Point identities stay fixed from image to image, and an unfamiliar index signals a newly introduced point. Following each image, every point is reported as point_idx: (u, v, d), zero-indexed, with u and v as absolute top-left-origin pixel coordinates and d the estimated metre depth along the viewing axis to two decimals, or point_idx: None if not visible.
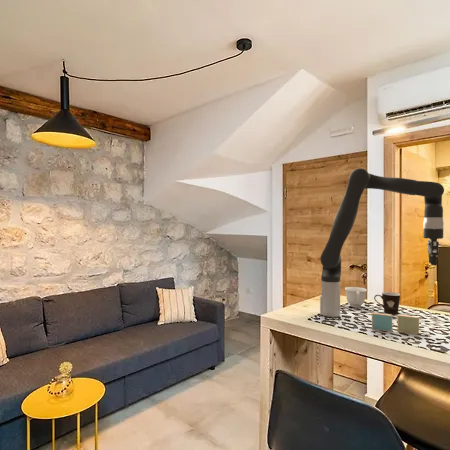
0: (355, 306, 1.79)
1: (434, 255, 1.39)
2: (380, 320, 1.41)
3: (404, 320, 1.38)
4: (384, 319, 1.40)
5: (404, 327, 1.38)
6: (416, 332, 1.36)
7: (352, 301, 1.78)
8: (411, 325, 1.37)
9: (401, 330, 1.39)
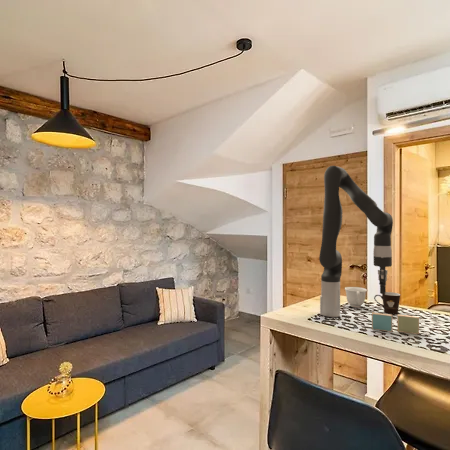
0: (355, 306, 1.79)
1: (382, 284, 1.45)
2: (380, 320, 1.41)
3: (404, 320, 1.38)
4: (384, 319, 1.40)
5: (404, 327, 1.38)
6: (416, 332, 1.36)
7: (352, 301, 1.78)
8: (411, 325, 1.37)
9: (401, 330, 1.39)
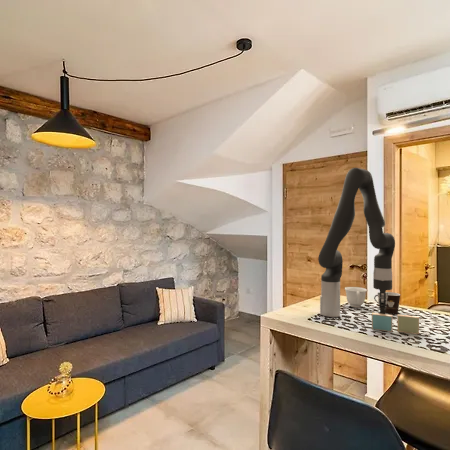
0: (355, 306, 1.79)
1: (382, 308, 1.40)
2: (380, 320, 1.40)
3: (404, 320, 1.38)
4: (384, 319, 1.39)
5: (404, 327, 1.38)
6: (416, 332, 1.36)
7: (352, 301, 1.78)
8: (411, 325, 1.37)
9: (401, 330, 1.39)
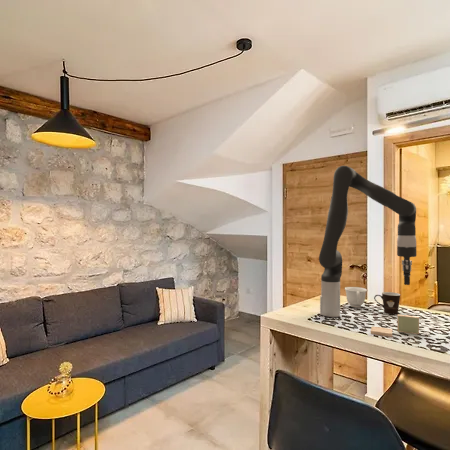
0: (355, 306, 1.79)
1: (406, 275, 1.42)
2: None
3: (404, 320, 1.38)
4: None
5: (404, 327, 1.38)
6: (416, 332, 1.36)
7: (352, 301, 1.78)
8: (411, 325, 1.37)
9: (401, 330, 1.39)
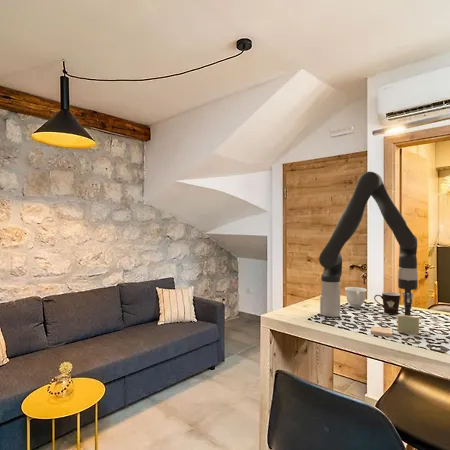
0: (355, 306, 1.79)
1: (407, 308, 1.42)
2: None
3: (404, 320, 1.38)
4: None
5: (404, 327, 1.38)
6: (416, 332, 1.36)
7: (352, 301, 1.78)
8: (411, 325, 1.37)
9: (401, 330, 1.39)
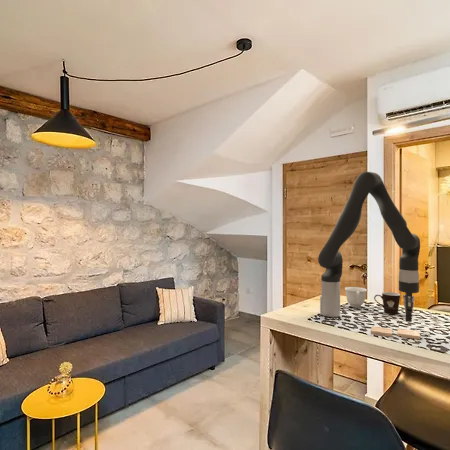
0: (355, 306, 1.79)
1: (408, 312, 1.35)
2: None
3: None
4: None
5: None
6: None
7: (352, 301, 1.78)
8: None
9: None
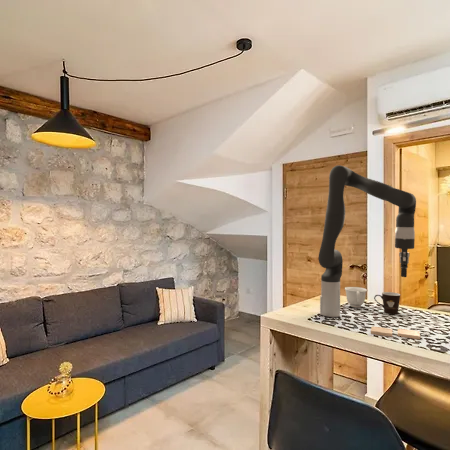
0: (355, 306, 1.79)
1: (403, 267, 1.40)
2: None
3: None
4: None
5: None
6: None
7: (352, 301, 1.78)
8: None
9: None
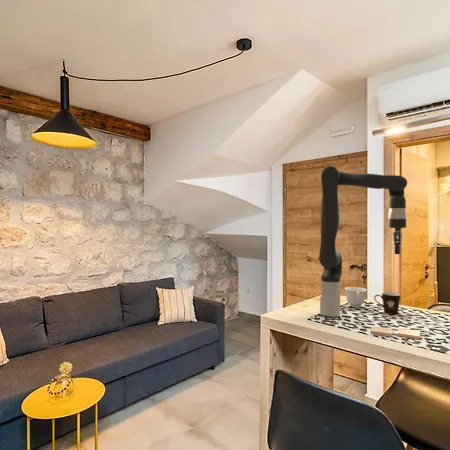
0: (355, 306, 1.79)
1: (397, 245, 1.53)
2: None
3: None
4: None
5: None
6: None
7: (352, 301, 1.78)
8: None
9: None
